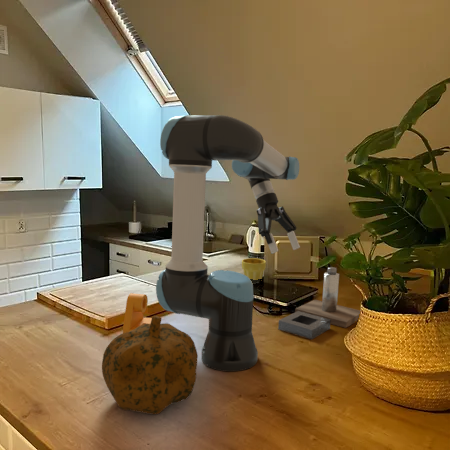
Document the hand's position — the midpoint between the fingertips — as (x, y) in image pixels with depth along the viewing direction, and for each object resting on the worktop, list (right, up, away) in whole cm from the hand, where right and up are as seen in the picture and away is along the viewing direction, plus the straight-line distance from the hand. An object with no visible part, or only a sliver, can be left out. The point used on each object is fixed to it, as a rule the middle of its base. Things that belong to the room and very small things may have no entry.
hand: (286, 250), depth 158 cm
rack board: (+15, -23, -1) cm, 27 cm away
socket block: (+4, -24, -14) cm, 28 cm away
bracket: (-47, -24, -19) cm, 57 cm away
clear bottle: (+15, -21, -1) cm, 25 cm away
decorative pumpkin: (-38, -30, -58) cm, 75 cm away
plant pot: (-9, -16, +38) cm, 43 cm away
